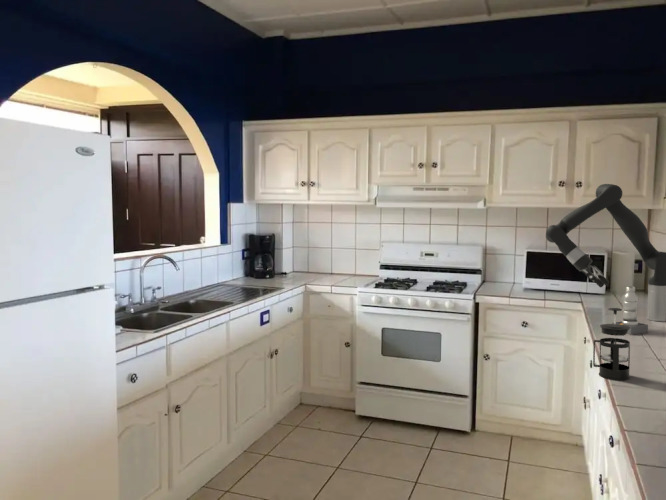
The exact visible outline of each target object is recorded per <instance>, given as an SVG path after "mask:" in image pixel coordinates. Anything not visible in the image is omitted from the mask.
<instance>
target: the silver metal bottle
mask: <svg viewBox="0 0 666 500" xmlns="http://www.w3.org/2000/svg"><path fill="white" fill-rule="evenodd" d="M621 302H622V312H623V314H622V324H624V325H626V326H638V323H639V322H638V313H637V311H638V304H639V297H638V295H637V293H636V287H635V286H625V292H624V294H623V295H622V297H621Z"/></svg>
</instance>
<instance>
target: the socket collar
mask: <svg viewBox="0 0 666 500" xmlns="http://www.w3.org/2000/svg"><path fill="white" fill-rule="evenodd" d="M622 321H623V320H622ZM622 321H616V324H620V325H624V324H622ZM611 324H614V321H613V322H612V323H611ZM629 327H630V329H629V330H628V332H627V333H626V335H630V336H631V335H640V334H646V333H647V334H648V331H649V325H648V324H646V323H643V322H638V326H629Z"/></svg>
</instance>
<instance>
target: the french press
mask: <svg viewBox="0 0 666 500" xmlns="http://www.w3.org/2000/svg"><path fill="white" fill-rule="evenodd" d="M607 310H608V311H613V316H614V320H613V322H614V324H612V323H602V324H600V325H599V326H600V328H601V329H600V332H601V333H602V334H603V335H606V336H607V335H609V336H613V337H603V338H600V339H594V340H593V346H592V347H593V349H592V350H593V352H592V353H593V355H592V356H593V357H592V358H593V359H592V362H593V363H592V365H593V367H595V368H599V372H598V376H599V377H601V378H603V379H606V380H610V381H627V380H630V379H631V376H630V365H631V364H630V358H631V357H630V356H631V355H630V354H631V352H630V351H631V342H630V340H627V339H625V338H618V336H620V337H621V336H626V335H627V334H626V333H627V332H628V330H629V329H630V327H629V326H626V325H620V324H616V322H617V321H616V320H617V316H616V315H617V314H618V312H619V311H620V312H623V308H620V307H610V308H607ZM616 336H617V337H616ZM596 343H599V364H596V363H595V360H596V357H595V356H596V355H595V354H596ZM602 347H606V348H610V353H606V354H602V351H601V350H602ZM620 349H627V350H628V351H627V352H628V355H627V356H625V355H622V354H620ZM601 354H602V355H601ZM601 360H603V361H606V362H602V361H601ZM626 362H627V364H628V365H626V364H622V363H626Z"/></svg>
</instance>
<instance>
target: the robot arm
mask: <svg viewBox="0 0 666 500" xmlns="http://www.w3.org/2000/svg"><path fill="white" fill-rule="evenodd" d="M622 198H623V189H622V188H621V186H618V185H617V184H613V183H603V184H600V185H598V186H597V188H596V190H595V198H594V199H593V200H591V201H590V202H588V203H586V204H584V205H581V206H580V207H577V208H575V209H574V210H573V211H571V212H569V213H568V214H566V215H565V216H564V217H563V218H561V220H560V222H558V223H557V224H551V225H549V226H548V227H547V229H546V230H545V238H546V240H547V241H548V242H549V243H551V244H553V243H554V244H555V245H556V246H557V248H558V250H559V251H560V253H561V254H563V255H564V257H566V259H567V260H568V261H569V263H571V265H572V266H574V267H575V269H576V270H578V271H579V272H582V274H584V275H585V276H586V277H587V278H588V279H589V280H590V281H591V282H594V283H595V284H596V285H597V286H598V287H599V288H603V287H604V286H607V285H608V284H610V281H609V280H608V278H606V277H605V276H604V275H605V274H604V273H603V272H602V271H601V270H600V269H599V268H598V267H597V266H596V265H592V263H593V259H592V258H591V257H590V256H589V255H588V254H587V253H586V252H584V251H583V249H582V248H580V247H579V246H578V245H577V244H576V243H574V242H573V241H572V240H571V239H570V237H569V236H568V233H570V232H571V231H573V230H574V229H575V228H577V227H578V226H580V225H581V224H583V223H584V222H586V221H587V220H588V219H590V218H591V217H593V216H594V215H595V214H597V213H600V212H601V211H603V210H604V209H606V210H607V212H609V214H610V215H611V216H612V218H613V219H614V221H615V223H616V224H617V225H618V226H619V228H620V229H621V231H622V233H623V234H624V235H625V236H626V237H627V239H628V240H629V241H630V243H631V244H632V245H633V247H634V248H635V249H636V250H637V252H638V253H639V255H640V257H641V259H642V260H643V262H644V264H645V266H646V267H648V269H650V270H653V271H654V272H653V276H652V277H649V278H648V281H647V284H648V287H647V320H649V321H653V322H666V251H658V250H657V249H656V248H655V246H654V245H653V244H652V242H651V241H650V239H649V238H650V237H649V231H648V228H647V227H646V225H645V224H644V222H643V221H642V220H641V218H640V217H639V216H638V215H637V214H636V213H635V212H634V211H632V210H631V209H630V208H629V207H627V206H626V205H625V204H624V203H623V201H622V200H621V199H622Z"/></svg>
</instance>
